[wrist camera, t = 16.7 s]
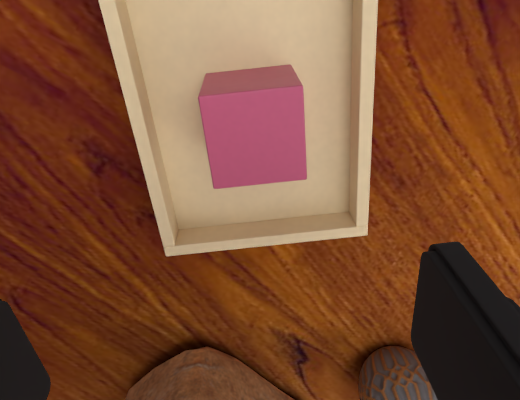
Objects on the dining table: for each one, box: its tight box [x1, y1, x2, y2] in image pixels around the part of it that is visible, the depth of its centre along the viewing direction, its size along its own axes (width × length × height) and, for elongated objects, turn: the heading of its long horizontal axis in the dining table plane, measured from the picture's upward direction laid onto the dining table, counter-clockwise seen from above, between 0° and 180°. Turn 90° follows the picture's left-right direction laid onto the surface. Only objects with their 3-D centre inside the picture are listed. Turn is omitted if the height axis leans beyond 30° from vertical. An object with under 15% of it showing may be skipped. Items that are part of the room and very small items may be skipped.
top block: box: [198, 64, 307, 189], centre depth 22 cm, size 5×5×5 cm
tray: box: [98, 0, 378, 256], centre depth 24 cm, size 18×14×3 cm
